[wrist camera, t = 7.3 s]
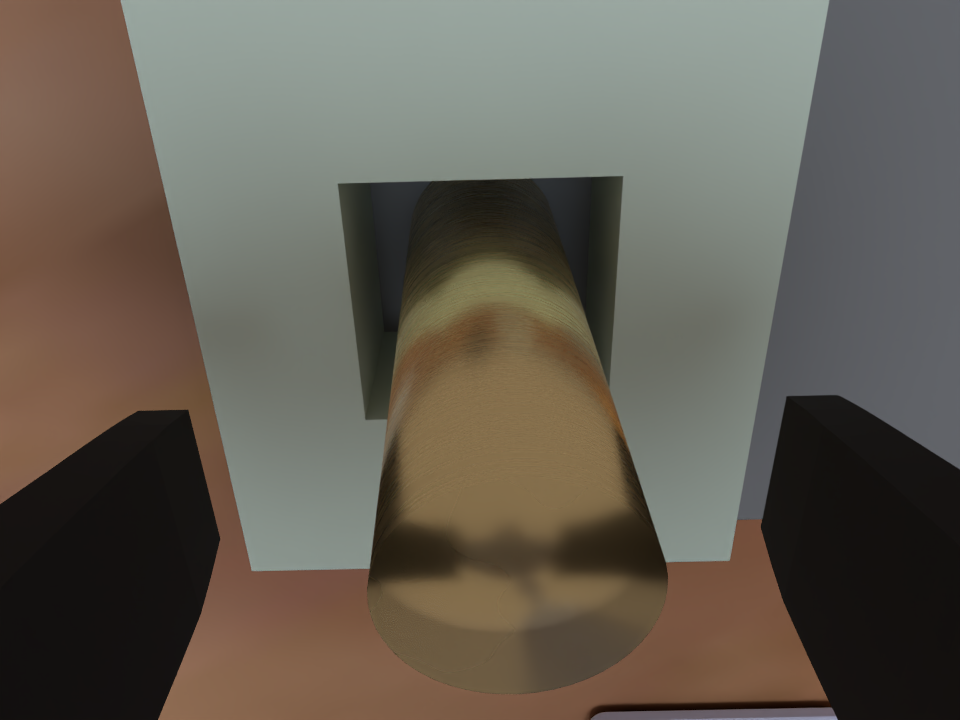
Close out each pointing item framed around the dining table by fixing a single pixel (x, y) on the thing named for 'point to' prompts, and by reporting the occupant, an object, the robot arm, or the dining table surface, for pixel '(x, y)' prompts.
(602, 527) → the brass peg
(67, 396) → the dining table surface
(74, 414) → the dining table surface
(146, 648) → the robot arm
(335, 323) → the hole block
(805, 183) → the rubber mat
